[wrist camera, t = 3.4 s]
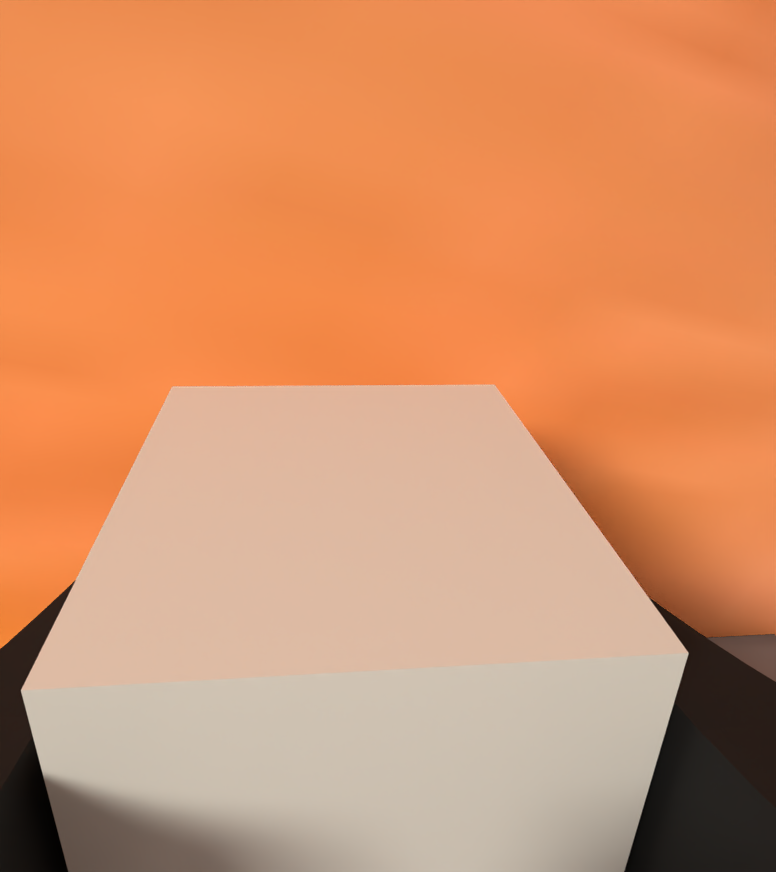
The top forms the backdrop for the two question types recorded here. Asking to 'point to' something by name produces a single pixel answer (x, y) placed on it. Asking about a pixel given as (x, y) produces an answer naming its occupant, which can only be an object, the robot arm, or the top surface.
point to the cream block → (350, 648)
